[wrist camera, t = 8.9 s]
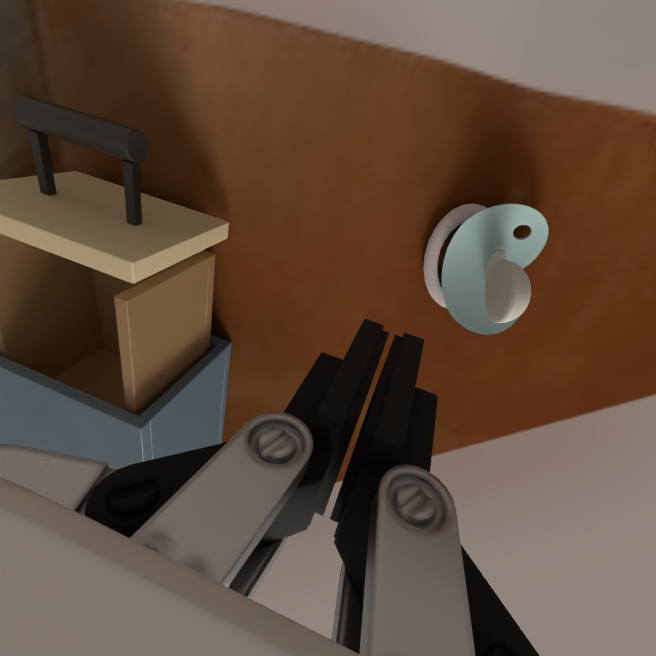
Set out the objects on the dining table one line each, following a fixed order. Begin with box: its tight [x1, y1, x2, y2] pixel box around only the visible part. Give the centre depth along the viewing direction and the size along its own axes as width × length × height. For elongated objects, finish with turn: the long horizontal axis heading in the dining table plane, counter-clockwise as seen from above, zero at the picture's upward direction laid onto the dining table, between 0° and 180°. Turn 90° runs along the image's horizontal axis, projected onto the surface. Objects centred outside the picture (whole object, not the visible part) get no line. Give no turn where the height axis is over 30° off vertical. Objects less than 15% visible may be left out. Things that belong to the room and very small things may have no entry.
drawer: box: [0, 95, 229, 416], centre depth 25 cm, size 20×12×9 cm, turn 167°
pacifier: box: [423, 203, 548, 335], centre depth 19 cm, size 7×6×6 cm
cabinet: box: [0, 334, 232, 470], centre depth 32 cm, size 17×14×11 cm
